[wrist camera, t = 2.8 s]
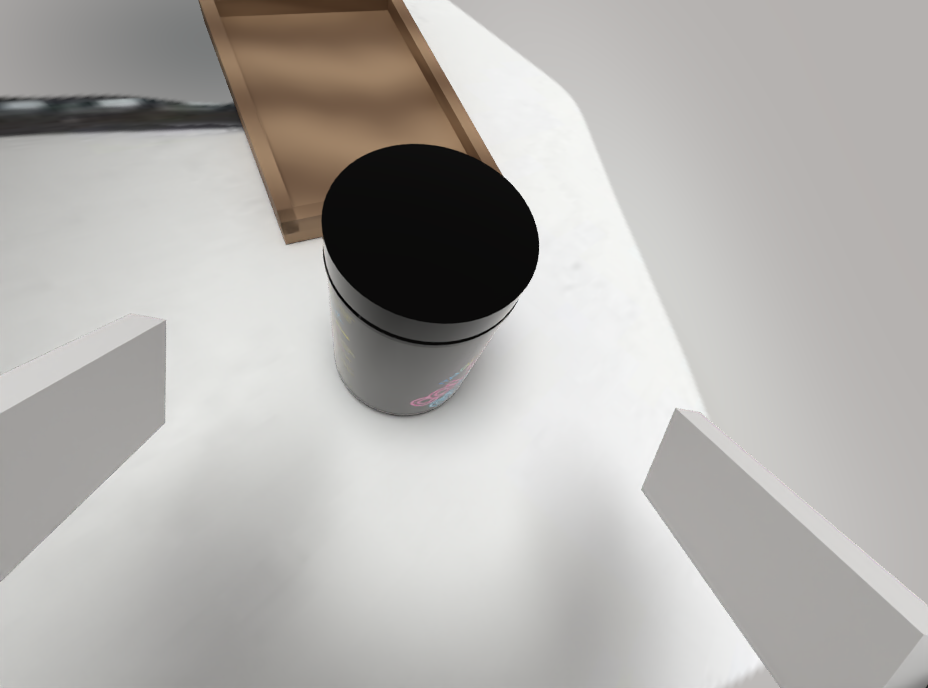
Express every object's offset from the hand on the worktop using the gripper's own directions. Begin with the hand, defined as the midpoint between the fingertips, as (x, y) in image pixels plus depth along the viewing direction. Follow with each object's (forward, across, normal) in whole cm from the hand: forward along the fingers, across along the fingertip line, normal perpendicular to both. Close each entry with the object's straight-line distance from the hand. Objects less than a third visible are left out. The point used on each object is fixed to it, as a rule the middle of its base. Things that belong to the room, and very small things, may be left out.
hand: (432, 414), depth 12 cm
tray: (+23, -7, +8) cm, 25 cm away
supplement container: (+11, -1, -3) cm, 12 cm away
